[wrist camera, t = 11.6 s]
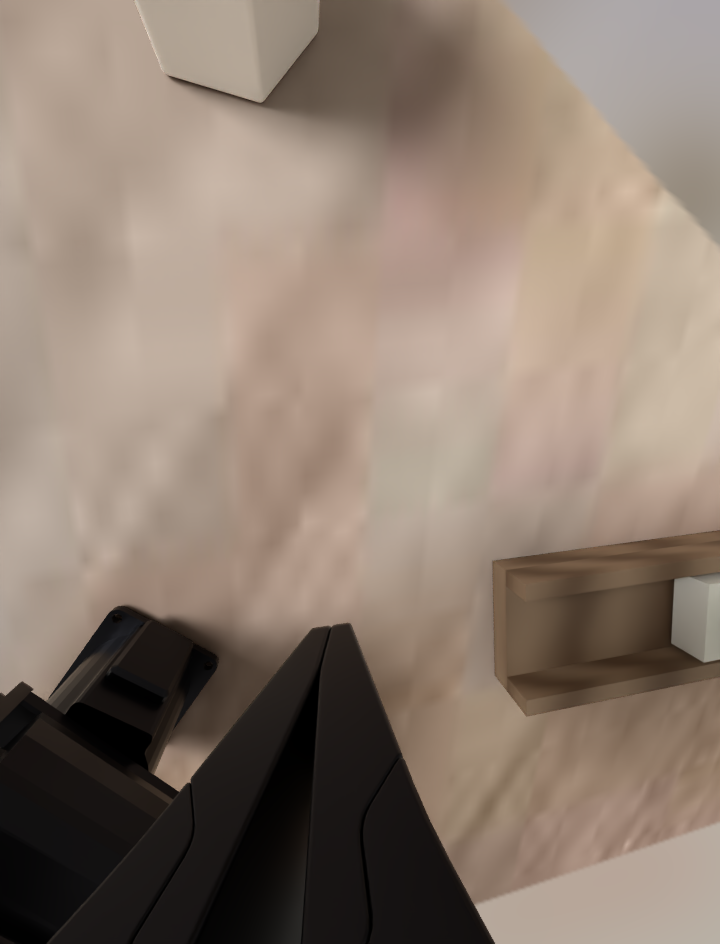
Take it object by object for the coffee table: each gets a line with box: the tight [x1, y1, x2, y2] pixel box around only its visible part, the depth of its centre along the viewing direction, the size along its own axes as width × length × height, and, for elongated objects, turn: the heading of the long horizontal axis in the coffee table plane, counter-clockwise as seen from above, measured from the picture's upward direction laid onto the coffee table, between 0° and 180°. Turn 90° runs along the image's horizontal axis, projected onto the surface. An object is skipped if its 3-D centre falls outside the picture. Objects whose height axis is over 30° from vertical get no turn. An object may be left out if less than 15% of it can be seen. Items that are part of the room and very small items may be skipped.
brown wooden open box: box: [493, 531, 720, 716], centre depth 23 cm, size 21×8×5 cm, turn 94°
